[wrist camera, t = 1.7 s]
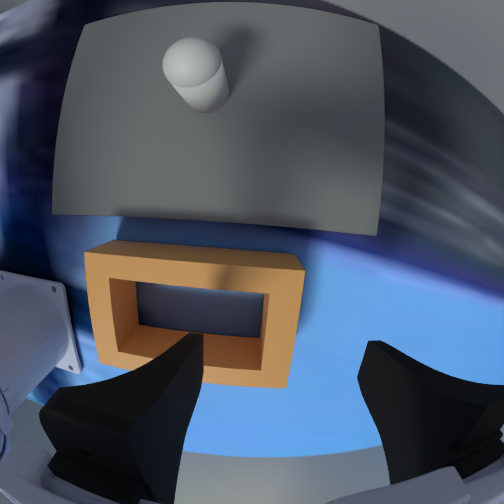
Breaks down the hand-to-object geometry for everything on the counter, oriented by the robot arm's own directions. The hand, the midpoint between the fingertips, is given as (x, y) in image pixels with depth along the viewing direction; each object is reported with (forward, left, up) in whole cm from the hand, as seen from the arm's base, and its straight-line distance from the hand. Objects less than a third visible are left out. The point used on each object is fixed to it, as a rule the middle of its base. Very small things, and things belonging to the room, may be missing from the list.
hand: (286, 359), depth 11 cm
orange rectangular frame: (-5, 0, -6) cm, 7 cm away
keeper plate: (-5, +12, -6) cm, 14 cm away
